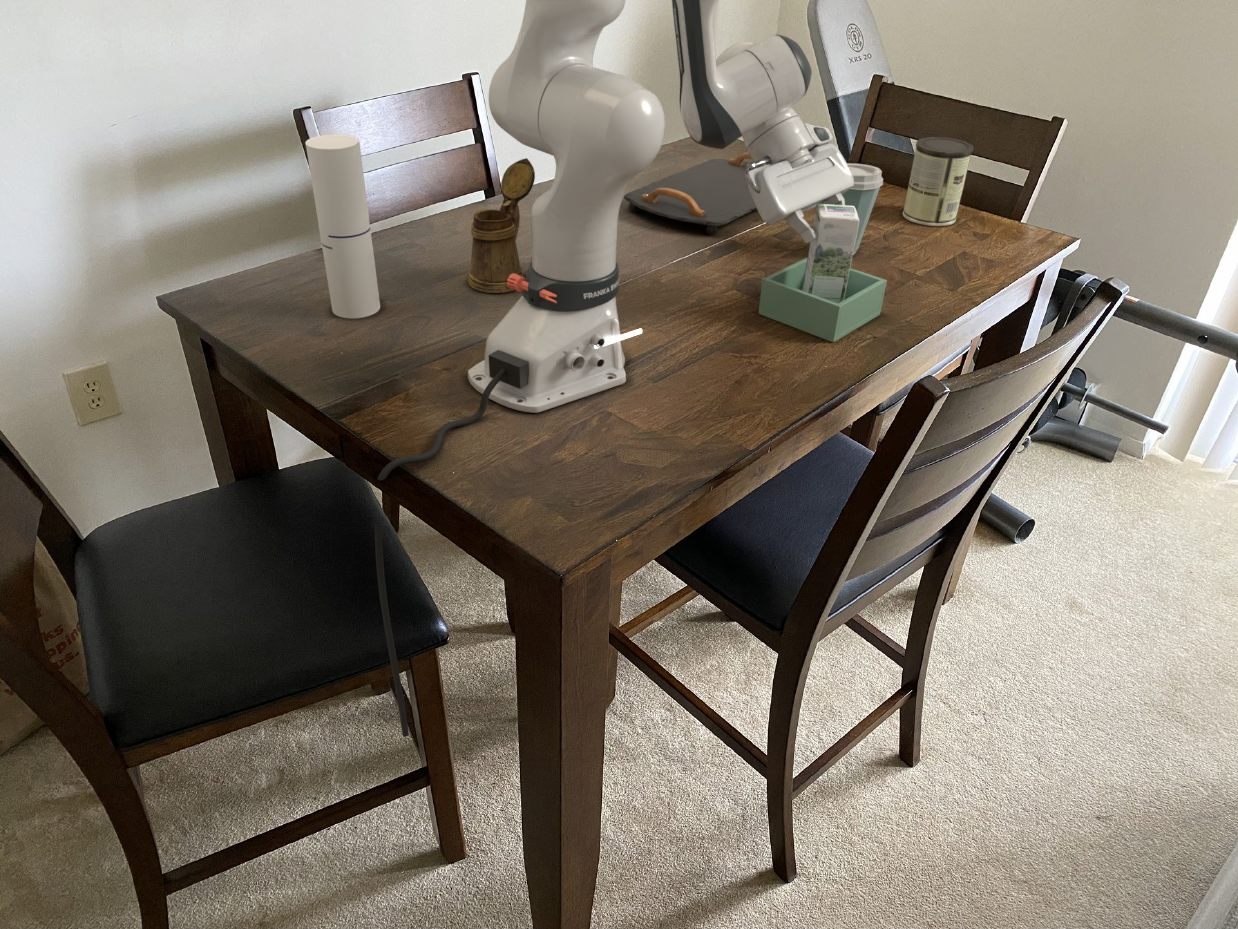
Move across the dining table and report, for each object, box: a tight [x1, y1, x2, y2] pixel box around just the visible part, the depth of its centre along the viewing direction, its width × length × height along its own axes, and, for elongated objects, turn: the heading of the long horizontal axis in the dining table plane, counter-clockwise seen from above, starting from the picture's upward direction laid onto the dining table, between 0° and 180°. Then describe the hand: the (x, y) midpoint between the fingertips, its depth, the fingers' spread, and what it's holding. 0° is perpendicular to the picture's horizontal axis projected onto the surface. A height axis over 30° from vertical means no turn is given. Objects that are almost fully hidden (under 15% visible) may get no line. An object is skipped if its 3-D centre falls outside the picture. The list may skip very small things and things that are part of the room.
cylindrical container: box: [305, 133, 381, 319], centre depth 136 cm, size 7×7×25 cm
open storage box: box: [758, 256, 888, 343], centre depth 144 cm, size 14×14×6 cm
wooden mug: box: [467, 157, 536, 294], centre depth 149 cm, size 9×14×18 cm, turn 146°
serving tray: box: [623, 151, 757, 237], centre depth 185 cm, size 39×23×6 cm, turn 142°
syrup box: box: [802, 204, 859, 303], centre depth 140 cm, size 6×6×14 cm
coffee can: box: [902, 136, 974, 227], centre depth 179 cm, size 10×10×14 cm
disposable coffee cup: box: [823, 162, 884, 256], centre depth 163 cm, size 11×11×15 cm
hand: (829, 232), depth 139 cm, fingers closed on syrup box, 7 cm apart
